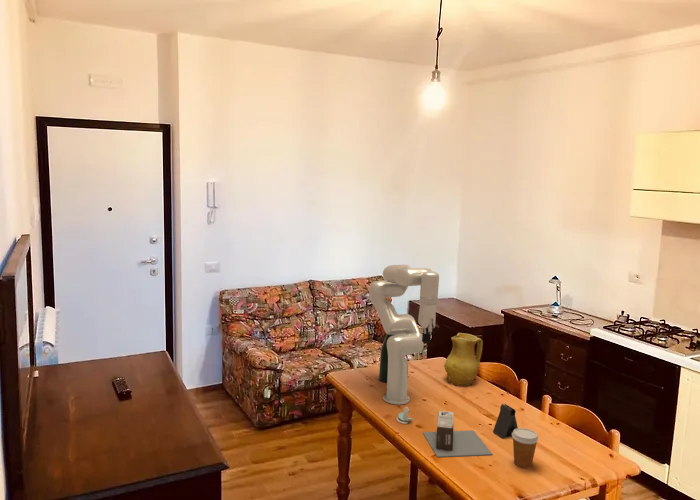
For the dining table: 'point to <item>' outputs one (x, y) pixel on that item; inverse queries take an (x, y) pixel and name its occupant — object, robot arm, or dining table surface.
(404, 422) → the pacifier
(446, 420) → the coffee box
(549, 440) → the dining table surface
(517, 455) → the disposable coffee cup
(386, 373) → the dark green bottle
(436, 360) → the dining table surface
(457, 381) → the pitcher
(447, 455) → the mat
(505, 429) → the phone stand
